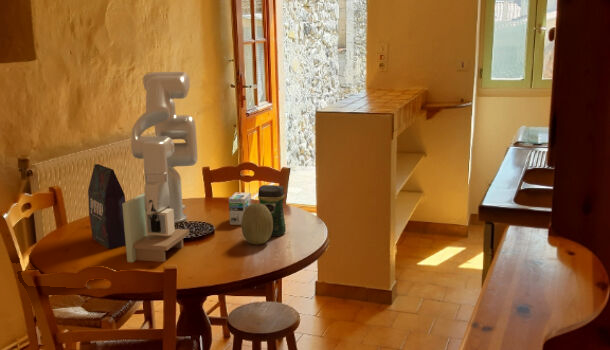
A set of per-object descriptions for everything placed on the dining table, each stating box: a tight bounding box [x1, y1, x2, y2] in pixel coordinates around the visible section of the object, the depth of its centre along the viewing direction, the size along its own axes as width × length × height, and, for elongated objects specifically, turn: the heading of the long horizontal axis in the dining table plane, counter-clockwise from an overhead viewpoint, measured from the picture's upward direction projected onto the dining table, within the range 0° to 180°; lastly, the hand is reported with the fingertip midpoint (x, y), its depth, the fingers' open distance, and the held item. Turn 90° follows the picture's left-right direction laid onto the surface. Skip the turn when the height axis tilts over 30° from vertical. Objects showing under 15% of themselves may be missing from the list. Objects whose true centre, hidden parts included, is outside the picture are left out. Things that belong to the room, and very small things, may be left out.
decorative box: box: [87, 163, 126, 250], centre depth 216 cm, size 8×16×28 cm, turn 40°
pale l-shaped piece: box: [122, 191, 190, 263], centre depth 203 cm, size 20×14×20 cm
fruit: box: [240, 202, 273, 246], centre depth 212 cm, size 11×11×15 cm
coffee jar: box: [257, 184, 287, 237], centre depth 223 cm, size 10×8×19 cm
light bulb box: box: [228, 191, 252, 226], centre depth 240 cm, size 11×7×11 cm, turn 171°
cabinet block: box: [145, 209, 176, 236], centre depth 203 cm, size 5×8×8 cm, turn 77°
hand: (160, 228), depth 204 cm, fingers closed on cabinet block, 5 cm apart
